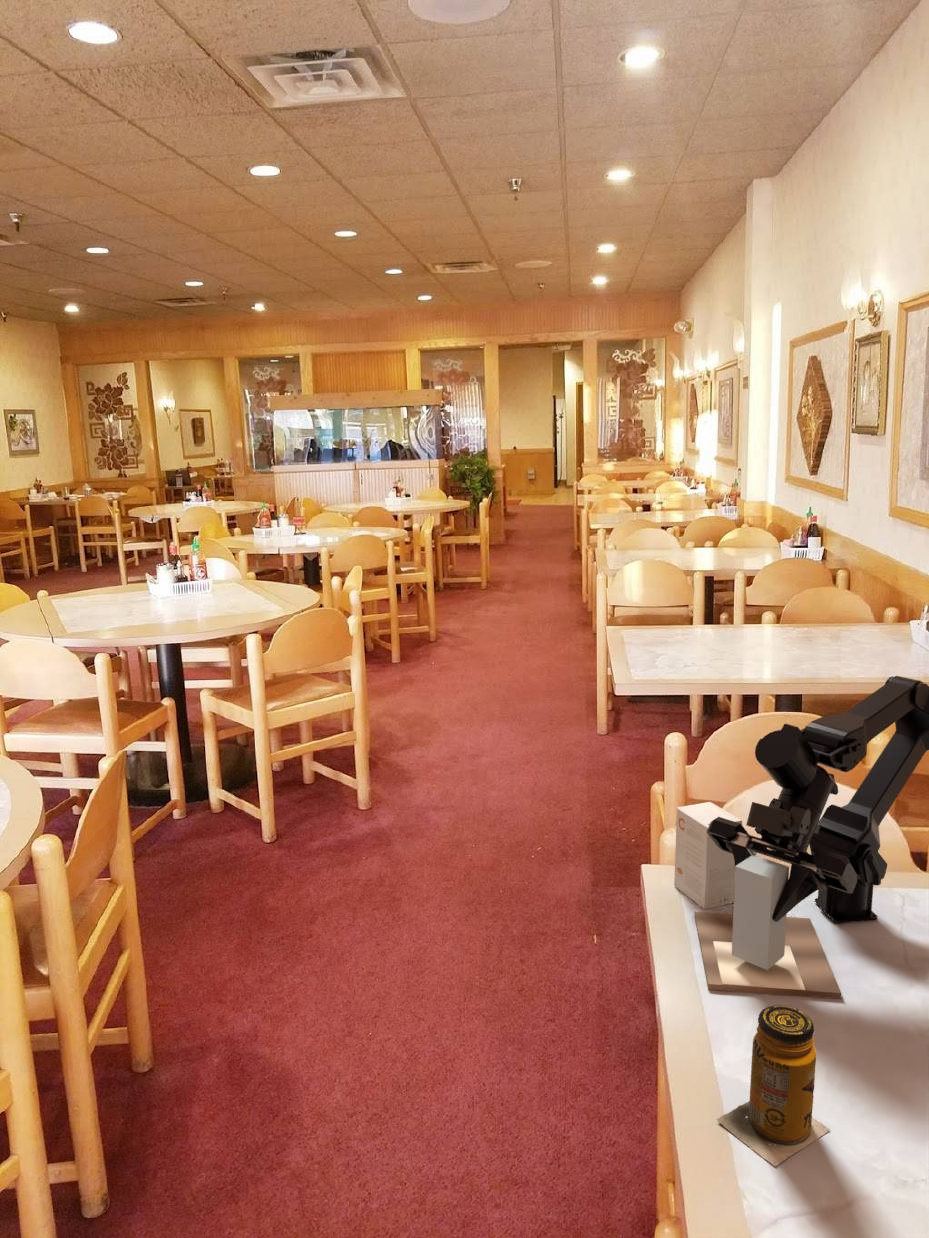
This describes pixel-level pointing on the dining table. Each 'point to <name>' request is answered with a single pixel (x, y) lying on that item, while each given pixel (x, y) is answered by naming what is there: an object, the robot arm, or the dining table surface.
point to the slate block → (758, 911)
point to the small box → (703, 857)
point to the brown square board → (791, 975)
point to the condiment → (779, 1087)
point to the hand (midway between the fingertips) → (754, 912)
